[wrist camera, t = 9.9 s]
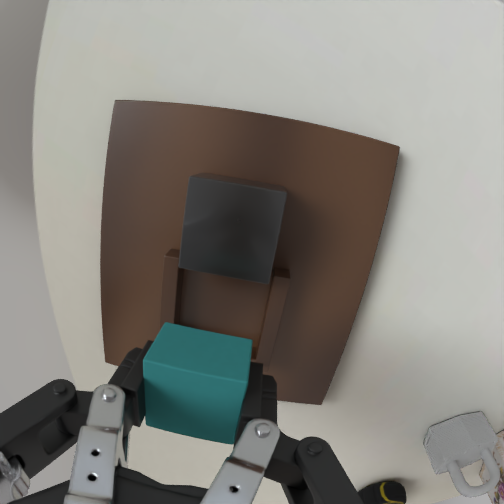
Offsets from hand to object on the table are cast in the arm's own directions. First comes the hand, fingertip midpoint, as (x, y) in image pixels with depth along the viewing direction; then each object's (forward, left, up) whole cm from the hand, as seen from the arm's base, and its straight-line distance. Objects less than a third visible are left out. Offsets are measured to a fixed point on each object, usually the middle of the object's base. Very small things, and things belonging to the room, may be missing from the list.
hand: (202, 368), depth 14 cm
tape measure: (+22, -25, -8) cm, 34 cm away
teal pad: (0, 0, 0) cm, 0 cm away
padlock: (+26, -12, -8) cm, 30 cm away
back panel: (0, +2, -8) cm, 8 cm away
